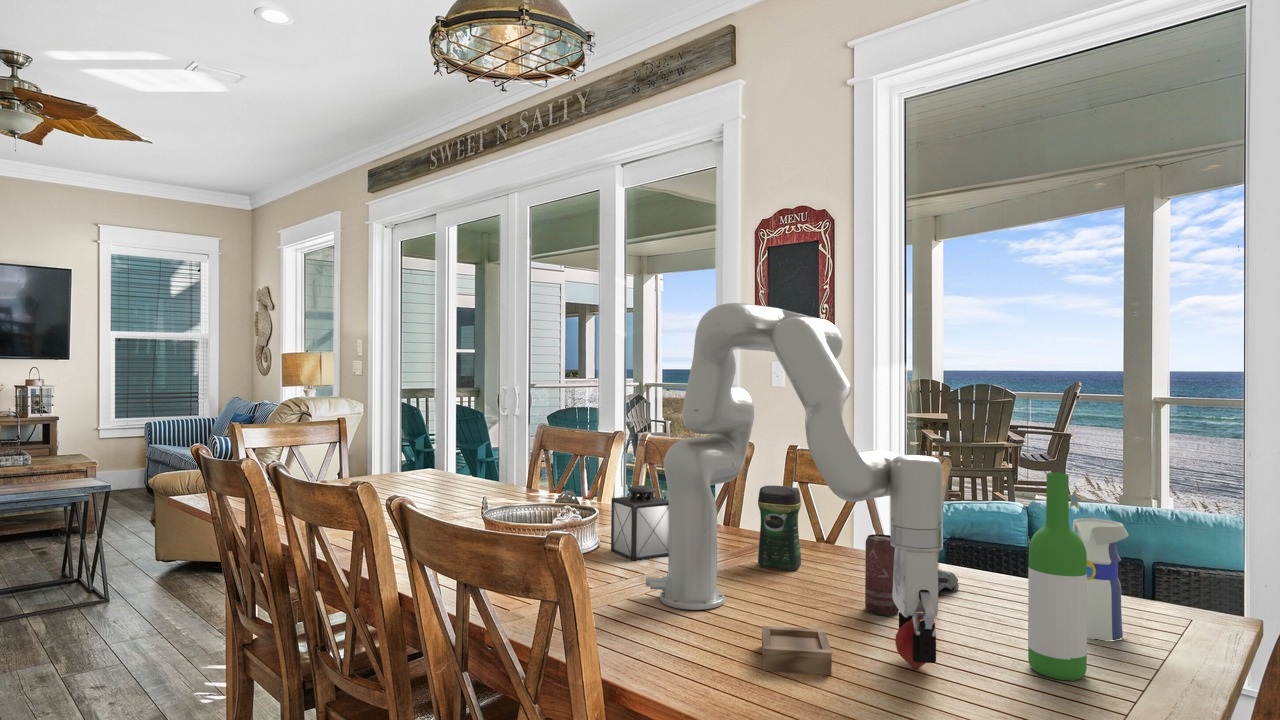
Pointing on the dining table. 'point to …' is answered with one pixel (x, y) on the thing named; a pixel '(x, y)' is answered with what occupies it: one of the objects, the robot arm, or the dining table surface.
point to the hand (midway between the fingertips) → (916, 649)
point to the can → (879, 575)
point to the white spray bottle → (1101, 574)
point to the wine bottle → (1057, 590)
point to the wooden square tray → (796, 650)
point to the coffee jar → (779, 528)
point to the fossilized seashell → (947, 580)
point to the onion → (906, 643)
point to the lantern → (640, 523)
